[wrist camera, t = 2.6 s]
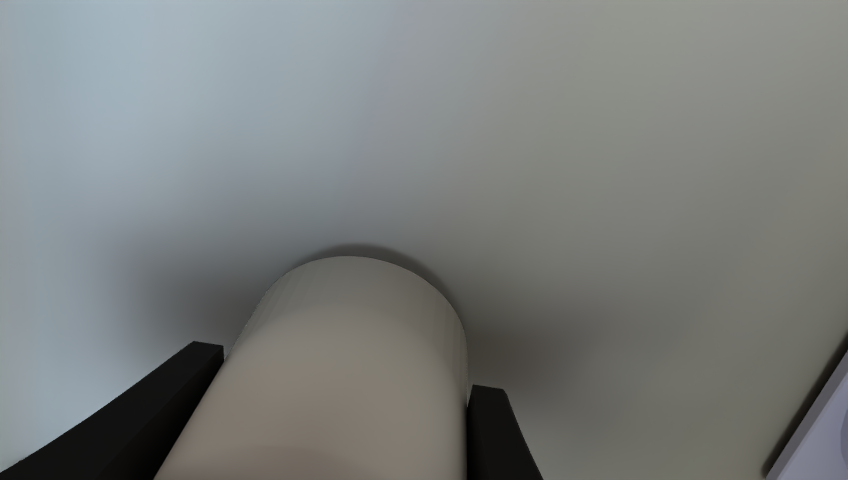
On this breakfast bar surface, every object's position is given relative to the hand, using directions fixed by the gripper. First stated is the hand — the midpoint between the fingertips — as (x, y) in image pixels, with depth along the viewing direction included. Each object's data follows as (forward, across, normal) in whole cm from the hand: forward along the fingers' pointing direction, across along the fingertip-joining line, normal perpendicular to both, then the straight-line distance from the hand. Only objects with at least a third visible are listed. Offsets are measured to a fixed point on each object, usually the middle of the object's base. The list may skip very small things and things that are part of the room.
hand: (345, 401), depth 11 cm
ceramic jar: (+2, 0, 0) cm, 2 cm away
